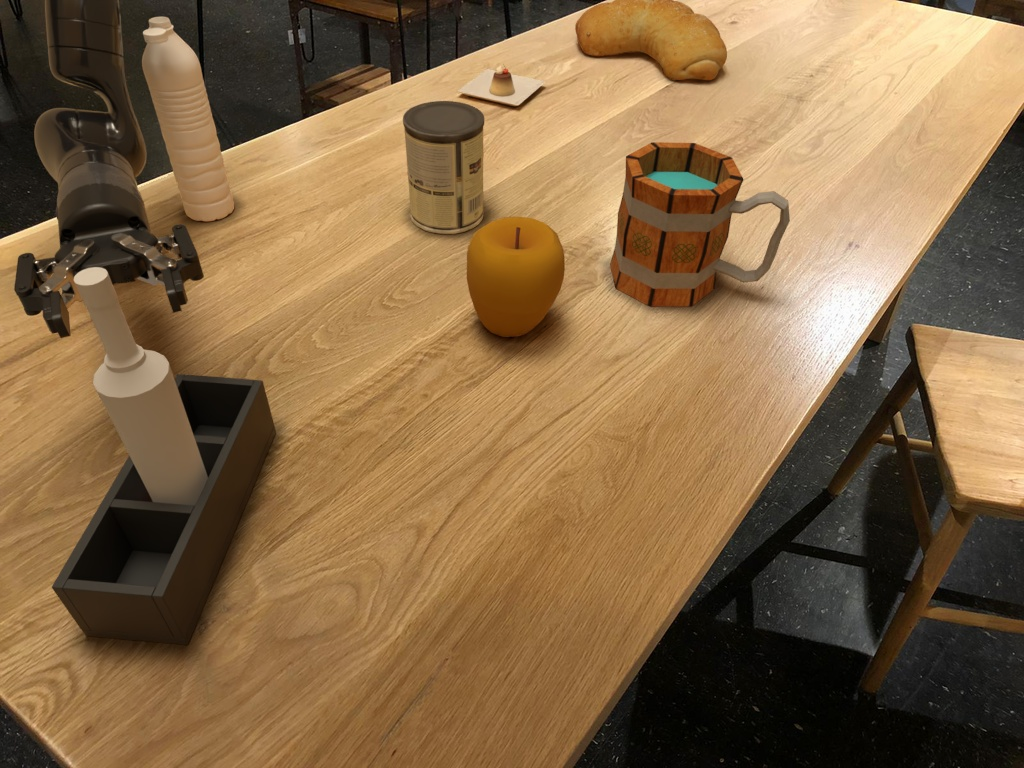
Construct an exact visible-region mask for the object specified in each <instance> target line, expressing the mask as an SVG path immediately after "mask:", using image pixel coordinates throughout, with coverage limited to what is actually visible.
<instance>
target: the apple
mask: <svg viewBox="0 0 1024 768" xmlns="http://www.w3.org/2000/svg"><path fill="white" fill-rule="evenodd" d="M565 265H566V264H565V251H564V248H563V245H562V243H561V240H560V237H559V235H558V233H557V232H556V231H555V230H554V229H552V228H551V226H550V225H548V224H547V223H545V222H543V221H541V220H538V219H536V218H532V217H526V216H506V217H502V218H499V219H496V220H492V221H490V222H488V223H487V224H485V225H484V226H482V227H481V228H479V229H477V230H476V231H475V232H474V234H473V236H472V237H471V239H470V242H469V244H468V246H467V251H466V283H467V288H468V293H469V297H470V299H471V303H472V305H473V308H474V310H475V312H476V315H477V317H478V319H479V321H480V323H481V324H482V325H483V326H484V327H485V328H486V330H488V332H489V333H491V334H493V335H497V336H499V337H502V338H510V337H511V338H513V337H521V336H524V335H526V334H528V333H529V332H531V331H532V330H534V328H536V327H537V326H538V325H539V324H540V323H541V322H542V321H543V320H544V318H545V317H546V315H547V314H548V312H549V310H550V309H551V308H552V306H553V305H554V303H555V301H556V300H557V297H558V296H559V294H560V291H561V289H562V286H563V282H564V279H565V272H566V271H565V270H566V268H565Z"/></svg>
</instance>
